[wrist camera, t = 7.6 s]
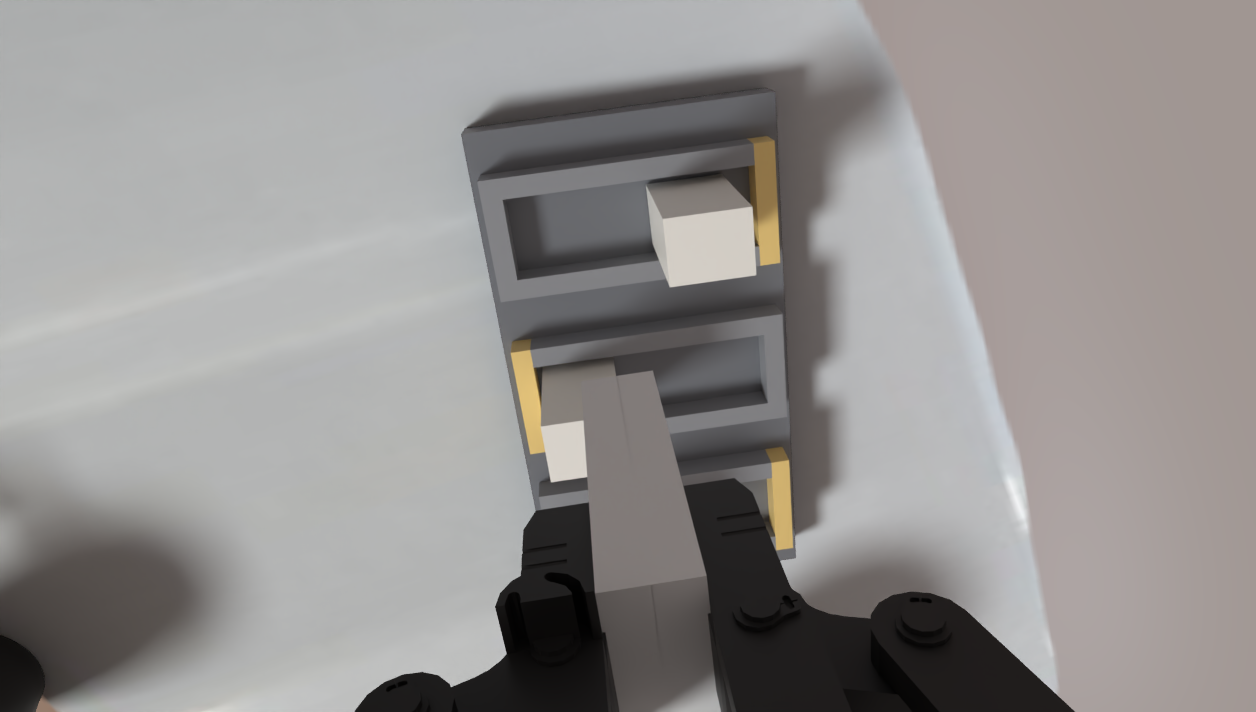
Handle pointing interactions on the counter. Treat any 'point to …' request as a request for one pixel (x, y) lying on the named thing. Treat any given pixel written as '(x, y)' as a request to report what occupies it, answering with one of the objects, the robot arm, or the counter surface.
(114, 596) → the counter surface
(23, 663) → the mug
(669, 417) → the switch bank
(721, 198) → the tab
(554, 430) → the tab
